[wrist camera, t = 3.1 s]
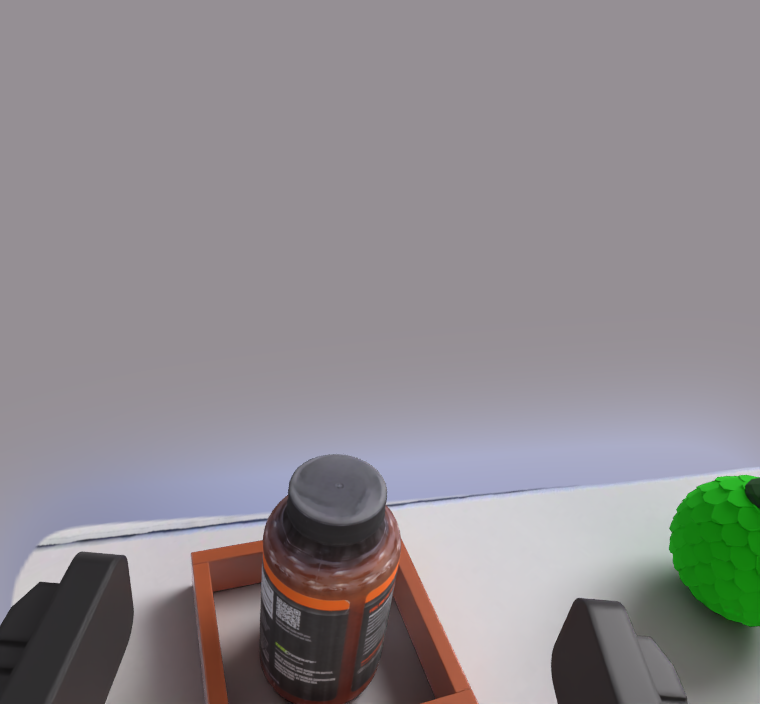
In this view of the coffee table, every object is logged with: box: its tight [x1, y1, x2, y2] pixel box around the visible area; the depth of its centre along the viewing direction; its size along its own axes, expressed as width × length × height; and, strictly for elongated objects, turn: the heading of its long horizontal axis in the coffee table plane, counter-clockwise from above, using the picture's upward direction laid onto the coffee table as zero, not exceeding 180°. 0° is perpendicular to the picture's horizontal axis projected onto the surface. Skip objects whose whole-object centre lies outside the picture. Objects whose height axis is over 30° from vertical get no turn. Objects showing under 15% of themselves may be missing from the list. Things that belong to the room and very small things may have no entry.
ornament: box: [669, 475, 760, 627], centre depth 34 cm, size 8×8×10 cm
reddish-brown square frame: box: [191, 539, 478, 704], centre depth 30 cm, size 11×11×2 cm
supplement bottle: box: [260, 454, 401, 704], centre depth 27 cm, size 6×6×11 cm
